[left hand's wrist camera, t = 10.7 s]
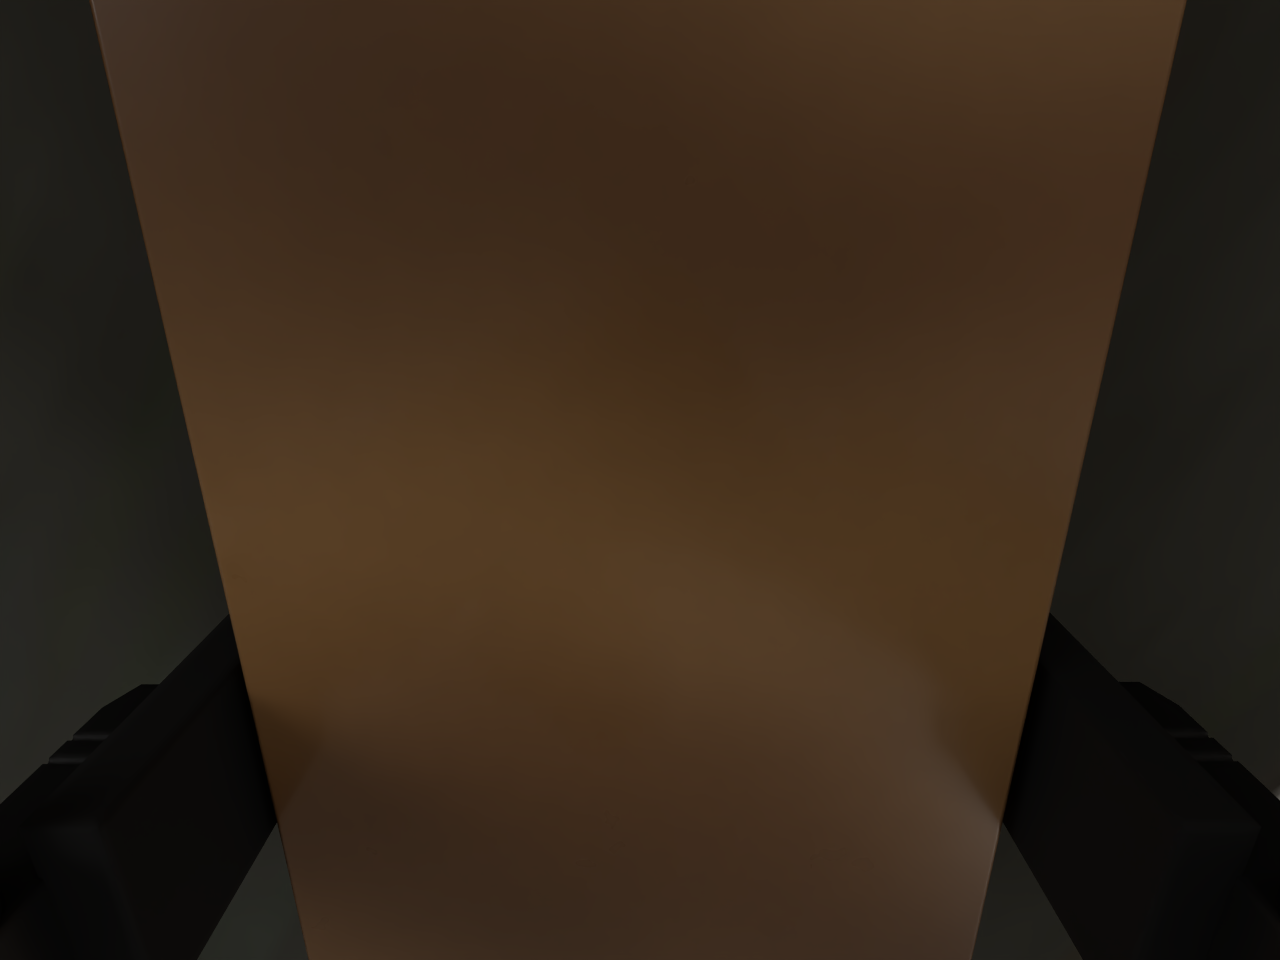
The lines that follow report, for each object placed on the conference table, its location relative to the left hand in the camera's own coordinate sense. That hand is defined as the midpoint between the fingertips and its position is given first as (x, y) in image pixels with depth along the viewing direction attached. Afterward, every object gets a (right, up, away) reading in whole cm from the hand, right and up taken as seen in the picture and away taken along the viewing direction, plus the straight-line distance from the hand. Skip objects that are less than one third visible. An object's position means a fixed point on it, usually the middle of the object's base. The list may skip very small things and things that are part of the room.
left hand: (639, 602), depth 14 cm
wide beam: (0, +32, -10) cm, 34 cm away
